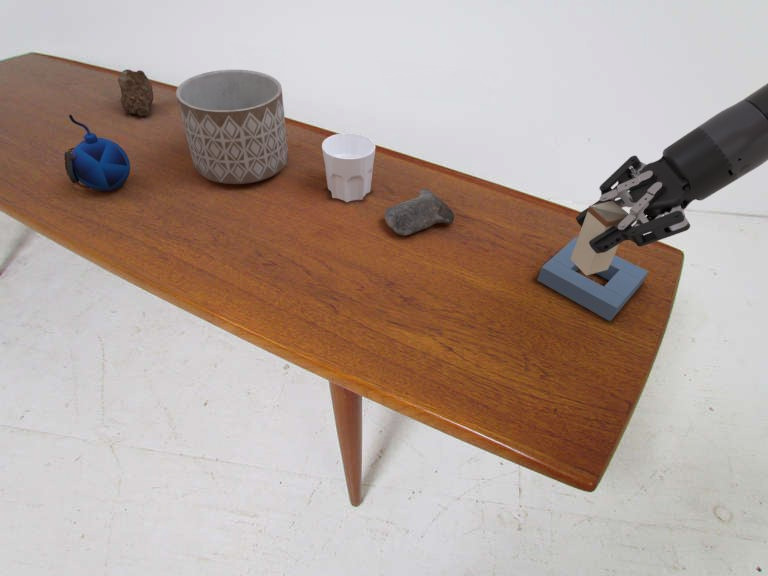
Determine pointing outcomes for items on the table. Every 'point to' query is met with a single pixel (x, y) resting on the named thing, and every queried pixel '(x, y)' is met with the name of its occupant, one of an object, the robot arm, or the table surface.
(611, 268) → the blue square frame
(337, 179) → the cup
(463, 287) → the table surface
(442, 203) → the stone
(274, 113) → the planter
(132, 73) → the rock
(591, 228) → the brown square block
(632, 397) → the table surface
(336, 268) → the table surface
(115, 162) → the bomb
